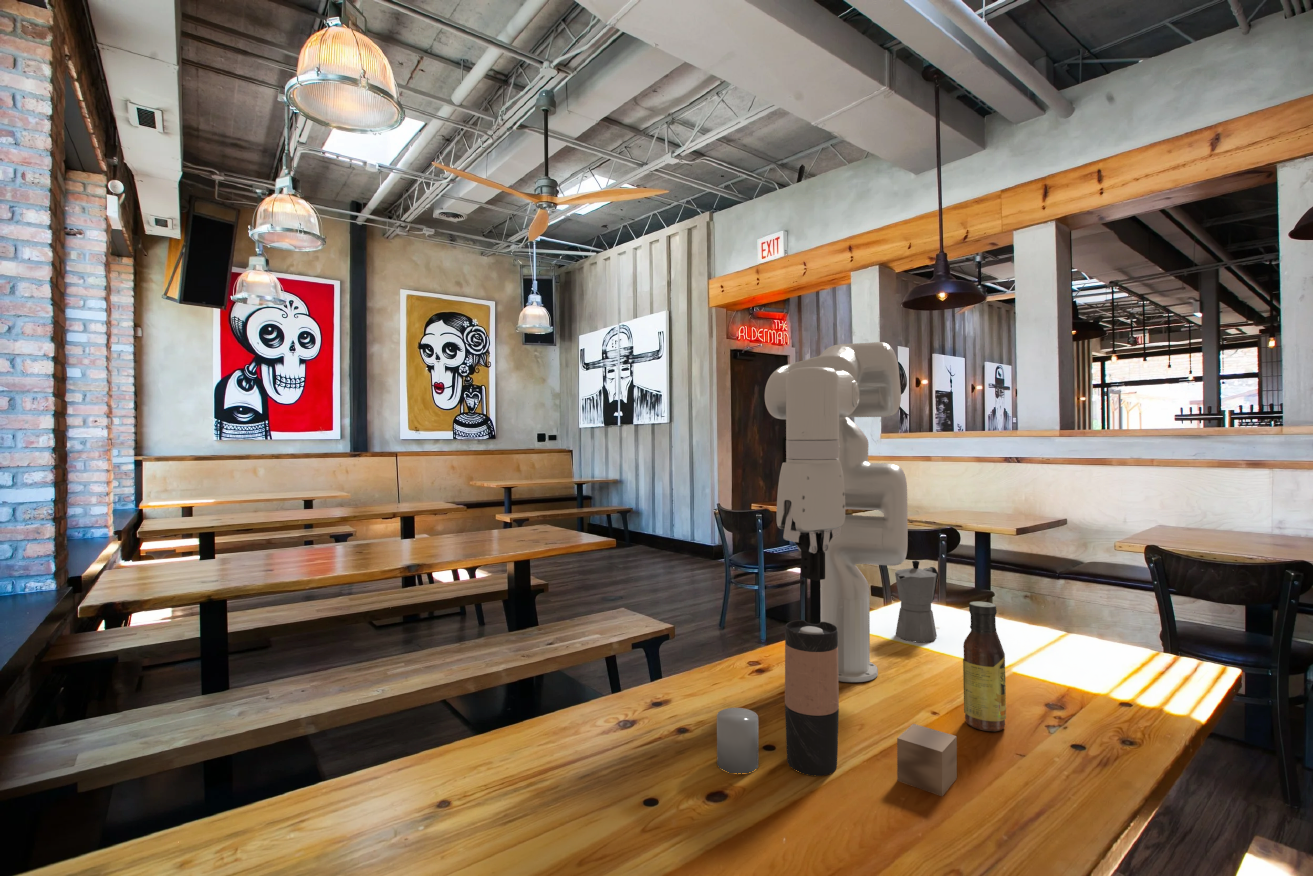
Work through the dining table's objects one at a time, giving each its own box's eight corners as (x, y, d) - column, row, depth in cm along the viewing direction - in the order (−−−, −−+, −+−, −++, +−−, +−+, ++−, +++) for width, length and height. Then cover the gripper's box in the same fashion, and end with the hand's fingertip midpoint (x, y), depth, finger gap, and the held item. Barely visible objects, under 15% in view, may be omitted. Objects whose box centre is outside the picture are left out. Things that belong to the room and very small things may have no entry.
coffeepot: (917, 647, 146) (917, 567, 146) (881, 636, 154) (881, 560, 154) (955, 634, 155) (955, 559, 155) (919, 625, 163) (919, 553, 163)
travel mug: (809, 782, 90) (808, 638, 90) (774, 758, 97) (773, 623, 97) (850, 769, 93) (849, 629, 93) (814, 746, 100) (813, 616, 100)
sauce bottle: (1011, 735, 104) (1011, 610, 103) (969, 732, 105) (968, 608, 105) (998, 717, 110) (998, 600, 110) (958, 714, 111) (958, 598, 111)
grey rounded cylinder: (708, 761, 96) (708, 714, 96) (739, 750, 99) (739, 704, 99) (735, 779, 91) (735, 729, 91) (767, 767, 94) (766, 718, 94)
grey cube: (897, 781, 90) (897, 738, 90) (913, 764, 95) (913, 723, 95) (942, 797, 86) (942, 752, 86) (956, 779, 91) (956, 736, 91)
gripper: (828, 451, 102) (828, 568, 102) (756, 453, 94) (757, 580, 94) (867, 452, 96) (868, 576, 96) (794, 454, 88) (794, 590, 88)
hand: (813, 578), depth 95 cm, fingers closed
